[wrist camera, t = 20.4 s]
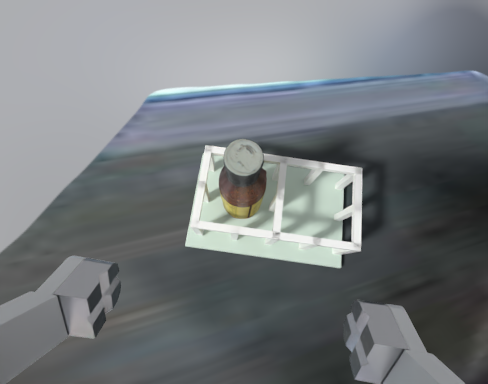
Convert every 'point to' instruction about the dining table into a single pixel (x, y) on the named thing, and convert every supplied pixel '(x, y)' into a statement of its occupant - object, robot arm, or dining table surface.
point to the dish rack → (280, 212)
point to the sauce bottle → (242, 178)
